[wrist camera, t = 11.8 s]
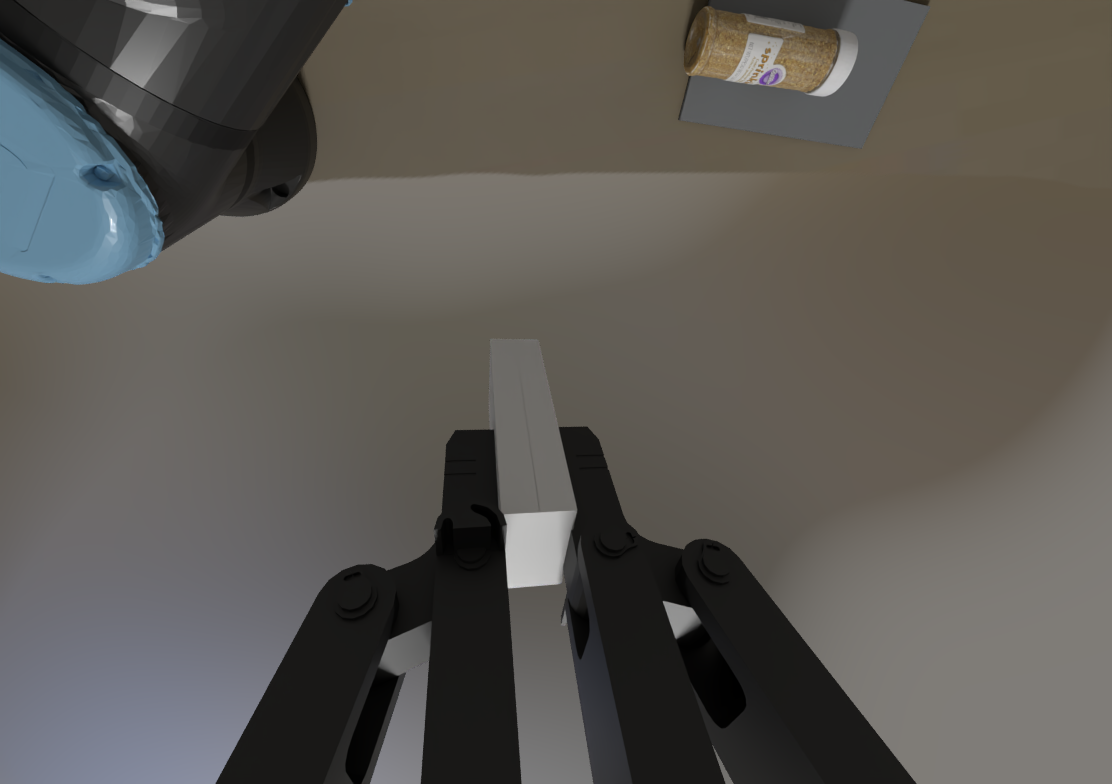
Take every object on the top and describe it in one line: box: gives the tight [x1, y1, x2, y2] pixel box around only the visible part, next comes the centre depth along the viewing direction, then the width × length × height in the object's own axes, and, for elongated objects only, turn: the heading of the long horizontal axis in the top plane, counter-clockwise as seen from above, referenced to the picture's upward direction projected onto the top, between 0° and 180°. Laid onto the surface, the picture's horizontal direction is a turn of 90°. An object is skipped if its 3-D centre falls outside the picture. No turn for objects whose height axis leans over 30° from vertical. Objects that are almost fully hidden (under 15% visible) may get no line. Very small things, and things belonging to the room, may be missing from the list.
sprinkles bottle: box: [684, 6, 858, 97], centre depth 37 cm, size 5×5×13 cm
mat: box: [678, 0, 930, 149], centre depth 40 cm, size 20×11×1 cm, turn 82°
